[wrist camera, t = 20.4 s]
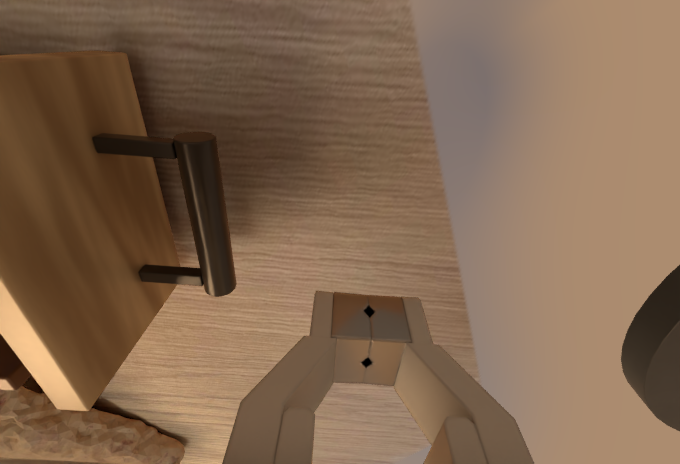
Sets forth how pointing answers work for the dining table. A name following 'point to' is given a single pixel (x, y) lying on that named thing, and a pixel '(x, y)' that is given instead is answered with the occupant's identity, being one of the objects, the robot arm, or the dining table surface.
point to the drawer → (91, 222)
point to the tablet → (78, 434)
